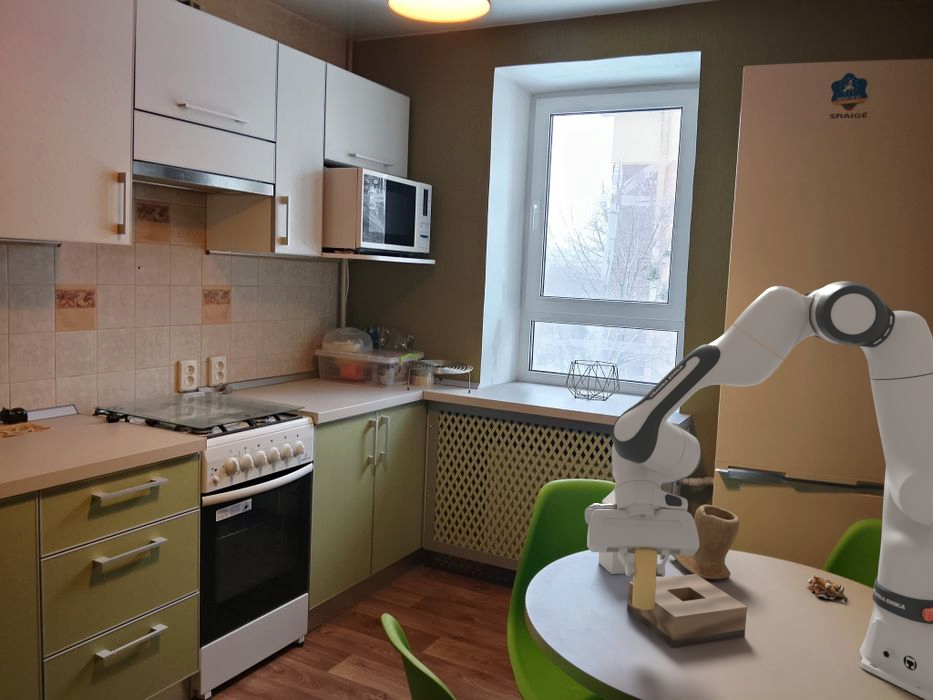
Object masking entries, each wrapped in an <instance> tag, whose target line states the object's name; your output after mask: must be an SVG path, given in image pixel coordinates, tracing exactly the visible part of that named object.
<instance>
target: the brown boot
mask: <svg viewBox="0 0 933 700" xmlns="http://www.w3.org/2000/svg"><path fill="white" fill-rule="evenodd" d="M693 519H694V522H695V525H696V528H697V532H698V537H699V548H698V550H697V551H696V553H695V554H694V555H693V556H680V555H671V556H672V557H673V559H675V560H676V561H677V562H678V563H679V564H680V565H681V566H682V567H683V568H685V569H686V570H687V571H688V572H689V573H691V574H697V575H698V576H700V577H701V578H703V579H705V580H706V579H708V580H723V579H727V578H730V576H731V572H730V570H729V568H728V567H727V564H726V563H725V562H726V557H727V555H728V553H729V551H730V549H731V547H732V545H733V544H734V543H735V540H736V537H737V536H738V533H739V530H740V519H739V517H738V515H736V514H735V513H733V512H731V511H729V510H728V509H725V508H721V507H719V506H715V505H713V504H712V505H710V504H702V505H700V506H699V507H698V508H697V509H696V511H695V513H694V517H693Z"/></svg>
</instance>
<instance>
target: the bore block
mask: <svg viewBox="0 0 933 700" xmlns="http://www.w3.org/2000/svg"><path fill="white" fill-rule="evenodd" d="M627 588H628V589H627V602H626V603H627V604H626V611H627V613H629V614H630V615H632V616H633V617H634V618H636V619H637V620H638V621H639V622H641V623H642V624H643V625H644V626H645V627H646V628H648V629H649V630H650V631H652V633H654V635H656V636H657V637H659V638H660V639H661V640H663V642H665V643H666V644H667V645H669V647H671V648H672V649H676V648H683V647H688V646H694V645H695V646H696V645H701V644H708V643H714V642H722V641H727V640H733V639H734V640H735V639H740V638H745V636H746V627H747V626H746V624H747V623H746V622H747V613H748V606H747V605H745V604H744V603H742V602H741V601H739V600H737V599H736V598H734V597H732V596H731V595H729V594H728V593H726V592H724V590H721V589H720V588H718V587H717V586H715V585H714V584H712V583H711V582H709V581H707V580H706V579H705V578H701V577H700V576H698V575H697V574H693V573H691V574H684V575H676V576H669V577H668V576H667V577H657V578H656V592H655V607H654V608H653V609H650V610H642V609H638V608H636V607H634V606H633V605H632V597H633V581H628V587H627Z"/></svg>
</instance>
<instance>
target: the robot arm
mask: <svg viewBox="0 0 933 700" xmlns="http://www.w3.org/2000/svg"><path fill="white" fill-rule="evenodd" d="M809 337H816V338H819V339H821V340H823V341H826V342H828V343H831V344H834V345H844V346H845V345H846V346H850V347H851V346H854V347H859V348H861V351H862V352H863V353H864V356H865V359H866V360H867V365H868V366H867V367H868V373H869V380H870V385H871V392H872V396H873V397H872V398H873V402H874V409H875V415H876V420H877V421H876V422H877V426H878V430H879V435H880V441H881V446H882V451H883V455H884V456H883V457H884V461H885V475H884V486H883V488H884V489H883V501H882V502H883V503H882V504H883V505H882V506H883V507H882V519H881V520H882V521H881V522H882V524H881V542H880V552H879V559H878V569H877V570H878V571H877V577H876V578H875V579H874V584H873V589H872V600H873V607H872V614H871V617H870V621H869V625H868V629H867V631H866V634H865V637H864V639H863V642H862V644H861V646H860V647H859V655H860V657H861V662H860V667H861V668H862V669H863V670H865V671H867V672H869V673H870V674H872V675H875V676H877V677H878V678H881V679H883V680H885V681H887V682H889V683H890V684H893V685H895V686H897V687H900V688H901V689H903V690H906V691H907V692H909V693H911V694H913V695H915V696H917V697H920V698H921V699H922V700H923V699H924V700H933V335H932V332H931V330H930V326H929V325H928V322H927V321H926V319H925V318H924V317H923V316H921V315H920V314H918V313H916V312H913V311H910V310H892V309H891V308H890V307H889V305H887V303H886V302H885V301H884V300H883V299H882V298H881V296H879V294H878V293H877V292H876V291H875V290H873V289H872V288H870V287H869V286H867V285H865V284H864V283H859V282H853V281H844V280H843V281H835V282H831V283H829V284H826V285H824V286H820V287H819V288H817V289H814V290H812V291H810V292H807V293H805V294H802V293H800V292H798V291H797V290H795V289H793V288H790V287H788V286H783V285H782V286H781V285H775V286H772V287H768V288H767V289H766V290H764V292H762V293H761V294H760V295H759V296H757V298H756V299H754V300H753V301H752V302H751V303H750V304H749V305H748V306H747V307H746V309H744V310H743V312H741V313H740V314H739V316H738V317H737V318H736V320H735V321H734V322H733V324H732V325H730V327H729V328H728V329H727V330H726V331H725V332H724V333H723V334H721V336H719V337H718V338H716V339H715V340H714V341H712V342H710V343H708V344H701V345H700V346H698V347H696V348H694V349H693V350H692V351H691V352H690V353H688V354H687V355H685V357H683V359H682V360H681V361H679V363H677V364H676V365H675V366H674V367H672V369H671V370H670V371H669V372H668V373H666V375H665V376H664V377H663V378H661V380H659V382H658V383H657V384H656V385H654V386H653V388H652V389H651V390H650V391H648V393H647V394H646V395H645V396H644V397H643V398H641V399H640V400H639V401H638V402H636V403H635V404H633V405H632V406H630V407H629V408H628V409H626V410H625V411H624V412H623V413H621V415H620V416H619V417H617V419H616V421H615V423H614V425H613V426H612V427H613V428H612V435H611V436H612V447H611V448H612V450H611V466H612V475H613V477H614V480H615V486H614V489H613V490H614V494H615V504H602V503H592V504H591V505H589V506H587V507H585V509H584V520H585V523H586V524H587V528H588V529H587V538H586V539H587V541H586V543H587V544H586V547H587V548H588V550H589V551H590V552H591V553H599V552H603V553H618V558H619V560H620V561H621V563H622V564H623V565H624V567H625V571H626V573H625V576H630V577H631V576H633V577H634V574H635V564H634V563H630V562H629V560H628V559H627V557H626V556H627V553H629V554H635V550H636V549H638V548H649V549H653V550H655V551H657V552H658V555H659V560H661V562H660V563H657V574H656V578H665V576H666V564H667V562H668V560H669V559H670V557H671V556H672V555H680V556H693V555H694V554H695V553H696V551H697V550H698V548H699V537H698V532H697V528H696V525H695V522H694V517H693V515H692V514H691V513H690V512H689V511H688V508H689V502H688V500H687V498H685V497H684V496H683V497H682V496H679V495H676V494H673V493H670V492H667V491H664V490H662V489H661V486H662V484H672V483H675V482H680V481H681V480H682V481H683V480H684V479H686V478H688V477H690V476H691V475H692V474H694V473H695V472H696V470H697V469H698V467H699V465H700V463H701V458H702V447H701V443H700V441H699V440H698V438H697V437H696V436H695V435H693V434H692V433H690V432H689V431H686V430H685V429H683V428H682V427H679V426H677V425H675V424H673V423H671V422H669V421H668V419H670V417H671V416H672V415H673V414H674V413H675V412H676V411H677V410H679V408H681V407H682V406H683V404H685V402H686V401H688V400H689V399H690V398H691V396H693V395H694V394H695V393H697V391H699V390H701V389H703V388H706V387H710V386H716V385H719V386H720V385H723V386H732V387H740V388H741V387H742V388H743V387H752V386H757V385H759V384H762V383H763V382H765V381H766V380H767V379H769V378H770V377H771V376H772V375H773V374H774V373H775V372H776V370H777V369H778V368H779V367H780V366H781V364H782V363H784V360H785V359H787V357H788V356H789V355H790V353H791V351H793V349H794V348H795V347H796V346H797V345H798V344H799V343H800V342H802V341H803V340H805V339H807V338H809Z"/></svg>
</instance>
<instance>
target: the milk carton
mask: <svg viewBox="0 0 933 700" xmlns="http://www.w3.org/2000/svg"><path fill="white" fill-rule="evenodd" d="M601 504H615V494H614V489H613V490H612V491H611V492H609V494H608V495H607V496H606V497H604V498H603V499H602V500H601ZM626 557H627V559H628V560H629V562H630V563H634V559H635V554H629V553H627V556H626ZM598 564H599V565H601V566H602V567H603V568H604V569H605V570H606V571H607V572H608V573H609V574H611V575H619V574H621V575H622V574H626V571H625V567H624V565H623V564H622V563H621V561H620V560H619V558H618V553H603V552H598Z"/></svg>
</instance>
